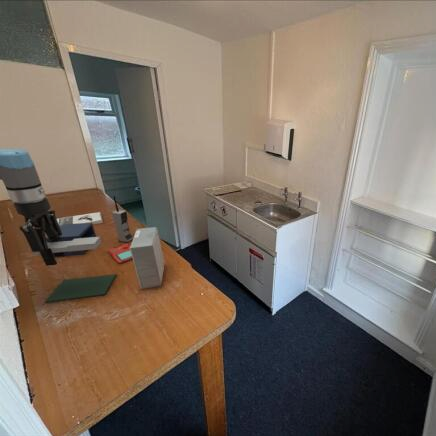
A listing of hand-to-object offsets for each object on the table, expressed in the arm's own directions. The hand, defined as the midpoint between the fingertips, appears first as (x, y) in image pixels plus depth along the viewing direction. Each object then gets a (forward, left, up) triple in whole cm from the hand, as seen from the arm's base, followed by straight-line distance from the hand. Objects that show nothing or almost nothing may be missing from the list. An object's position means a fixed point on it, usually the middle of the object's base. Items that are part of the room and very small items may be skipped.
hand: (56, 260), depth 84 cm
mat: (+5, 0, -14) cm, 15 cm away
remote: (+5, 0, +4) cm, 7 cm away
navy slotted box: (-11, +33, -14) cm, 38 cm away
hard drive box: (+29, +2, -14) cm, 32 cm away
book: (-23, +63, -14) cm, 69 cm away
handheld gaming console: (+12, +23, -14) cm, 30 cm away
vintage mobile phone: (+9, +37, -14) cm, 41 cm away
